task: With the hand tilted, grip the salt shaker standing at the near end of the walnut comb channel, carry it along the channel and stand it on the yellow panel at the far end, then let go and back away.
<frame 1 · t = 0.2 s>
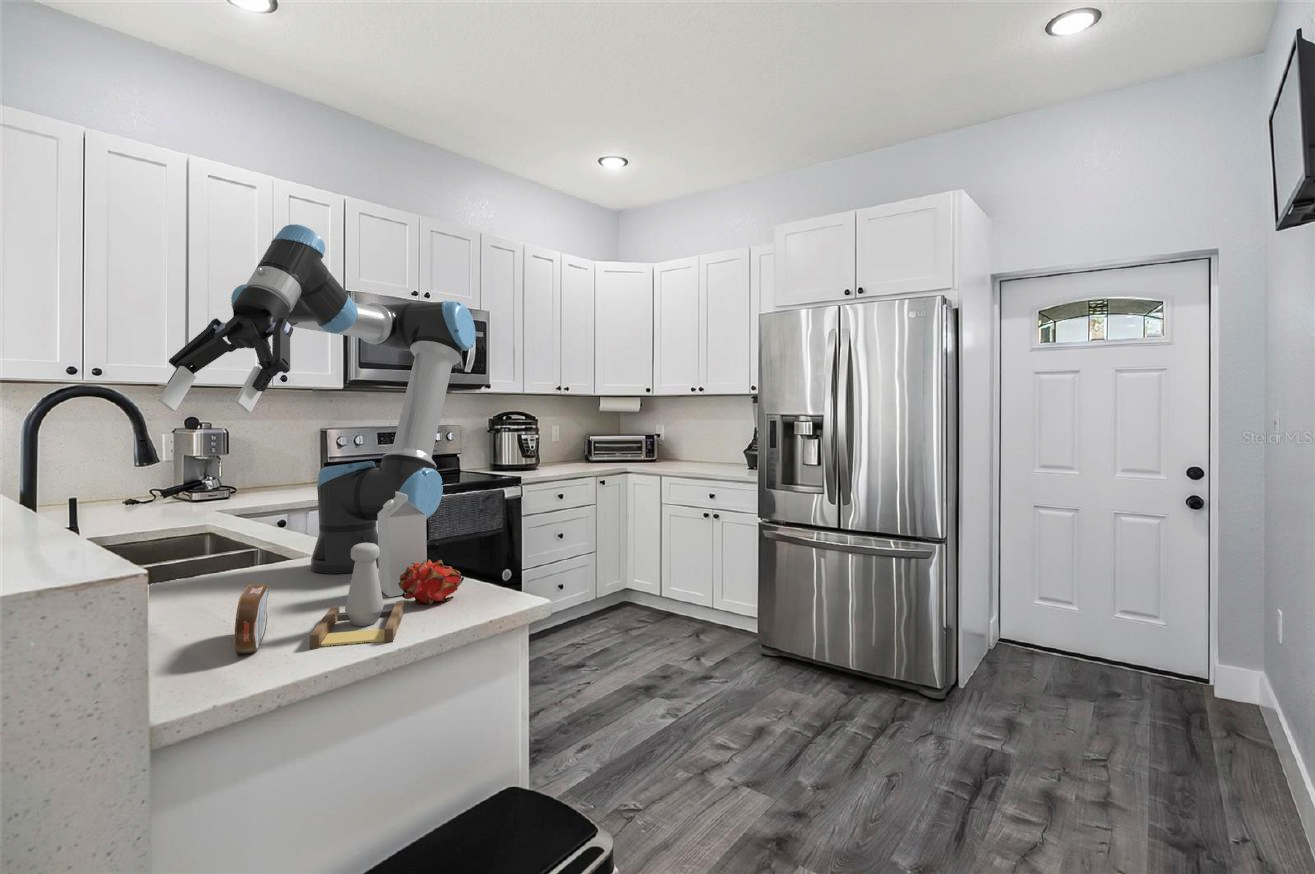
hand: (203, 406, 100), 36 cm above the countertop, tool tilted 35°, fingers open, 13 cm apart
tin: (253, 645, 101), on the countertop
milk carton: (403, 591, 130), on the countertop
comb channel: (360, 629, 107), on the countertop
yellow panel: (355, 638, 103), on the countertop
dragon fruit: (432, 602, 123), on the countertop
salt shaker: (364, 622, 111), resting in comb channel
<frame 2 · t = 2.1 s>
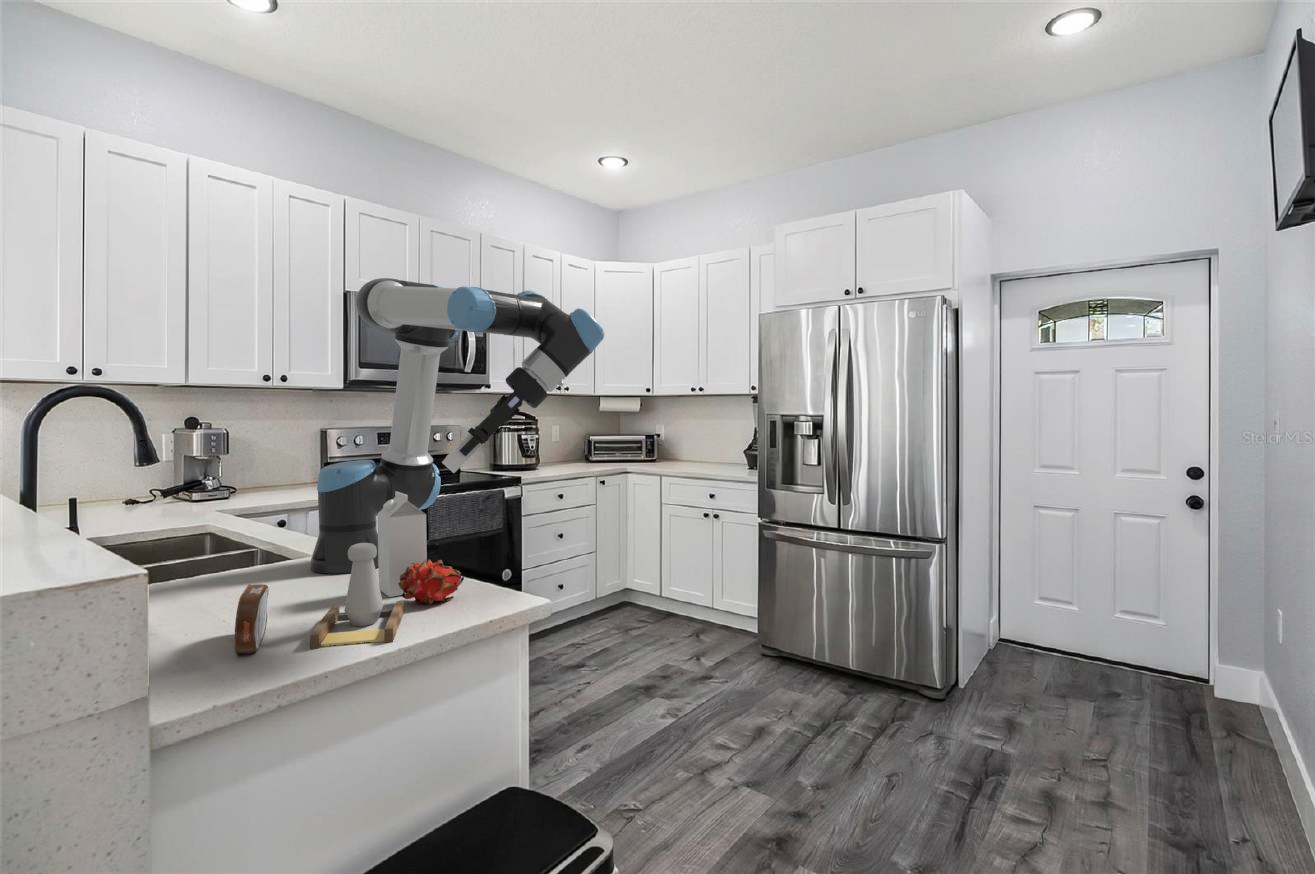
hand: (449, 464, 118), 25 cm above the countertop, tool tilted 45°, fingers open, 13 cm apart
nothing on the countertop moved.
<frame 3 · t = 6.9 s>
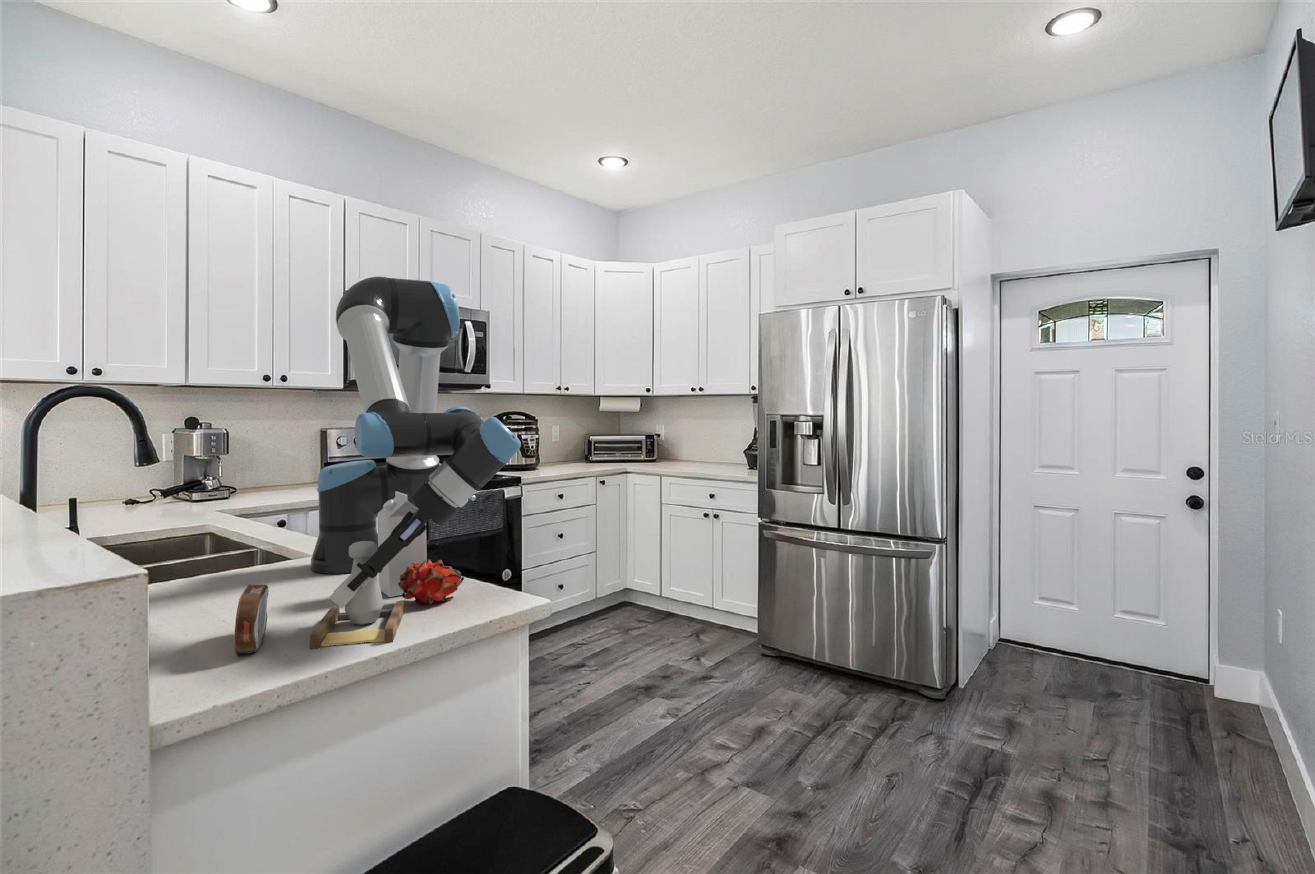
hand: (338, 599, 109), 4 cm above the countertop, tool tilted 45°, fingers closed on salt shaker, 3 cm apart
salt shaker: (364, 621, 110), resting in comb channel, touching gripper
everything else where it was.
when the fingers open (5 cm above the countertop, at t = 11.8 s): salt shaker stays where it is, resting on yellow panel.
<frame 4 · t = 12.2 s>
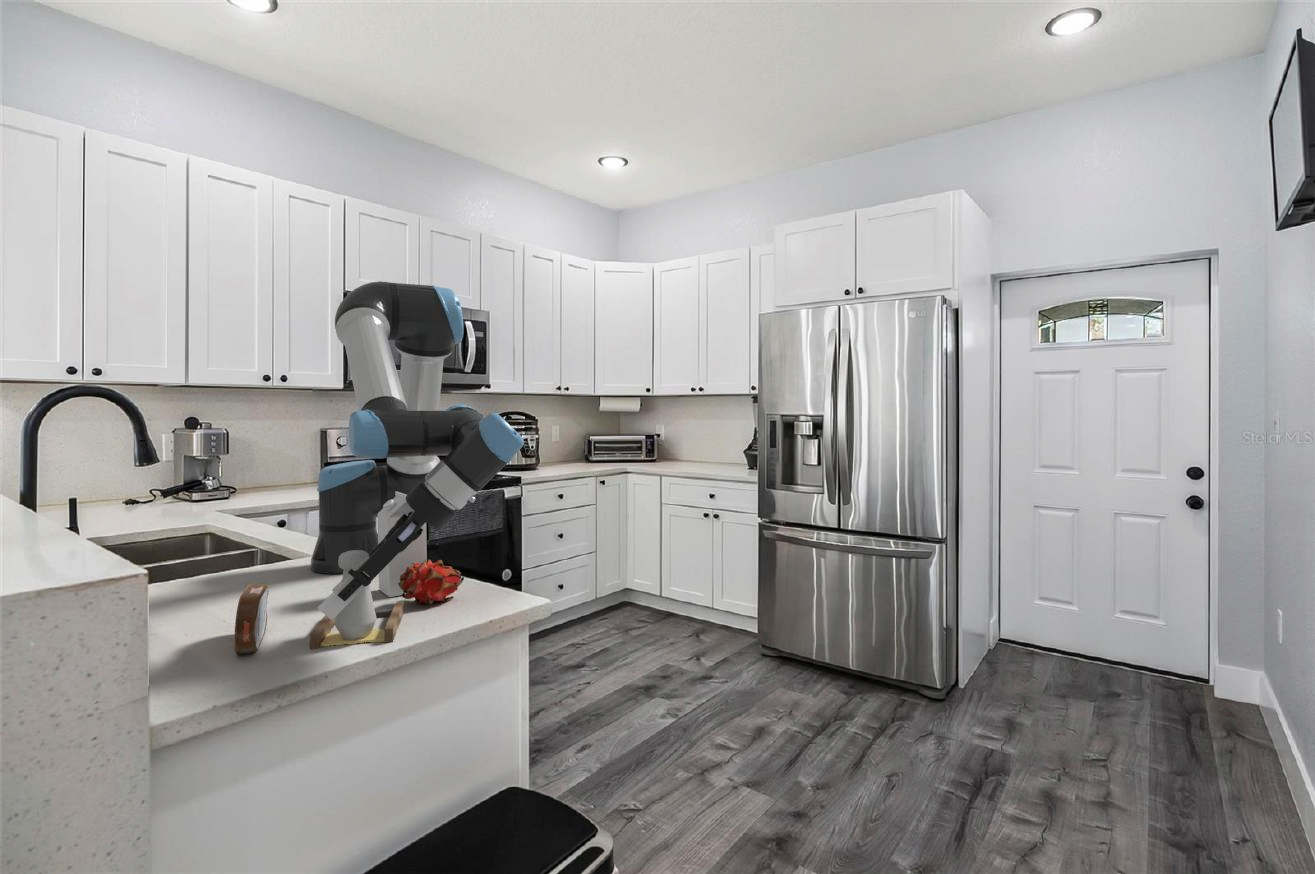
hand: (332, 603, 102), 6 cm above the countertop, tool tilted 45°, fingers open, 9 cm apart
salt shaker: (356, 636, 103), resting on yellow panel
everything else where it was.
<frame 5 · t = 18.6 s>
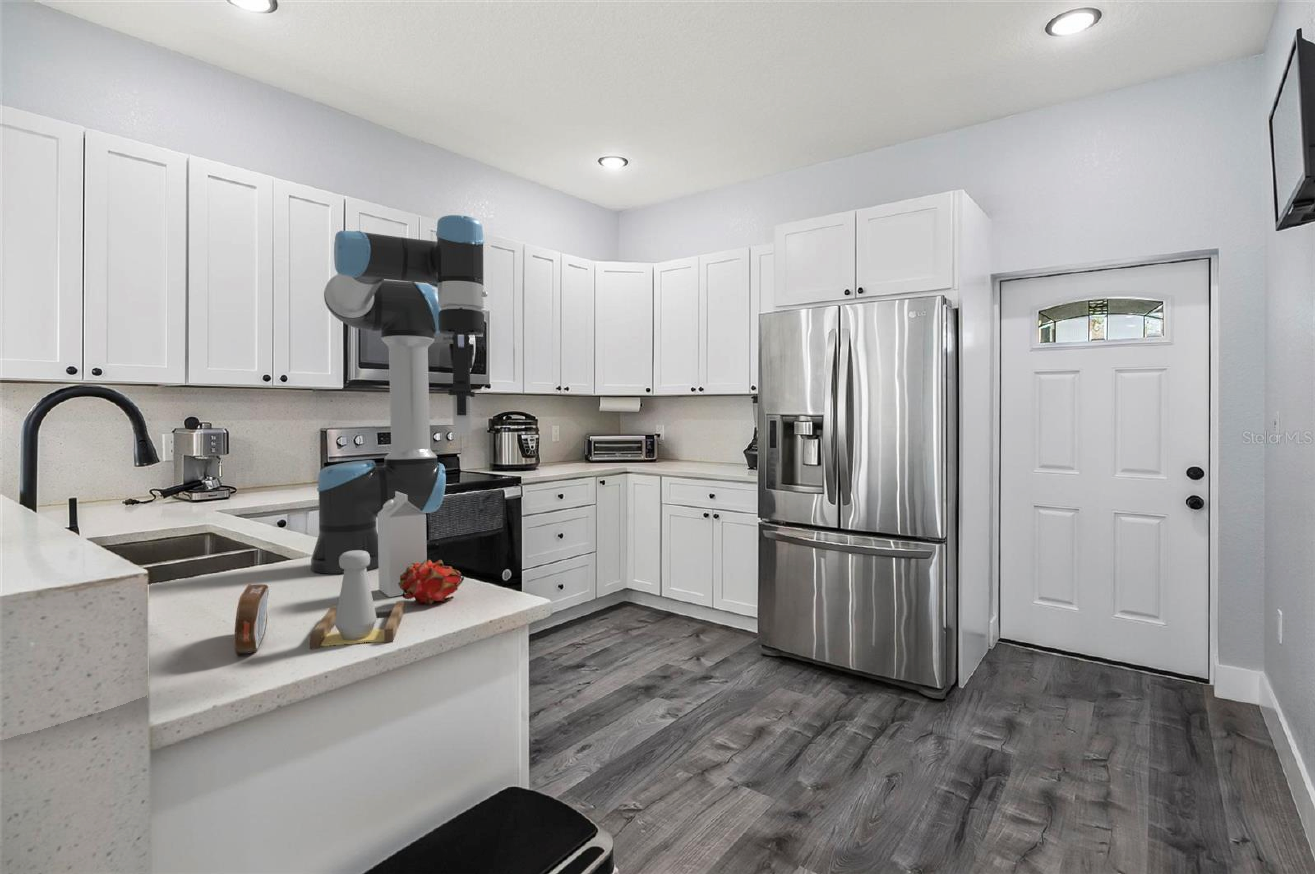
hand: (463, 434, 115), 31 cm above the countertop, tool pointing down, fingers open, 13 cm apart
nothing on the countertop moved.
at the end: salt shaker inside the target area (0.1 cm from its centre), resting on yellow panel; salt shaker tilted 0°; the gripper is holding nothing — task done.
